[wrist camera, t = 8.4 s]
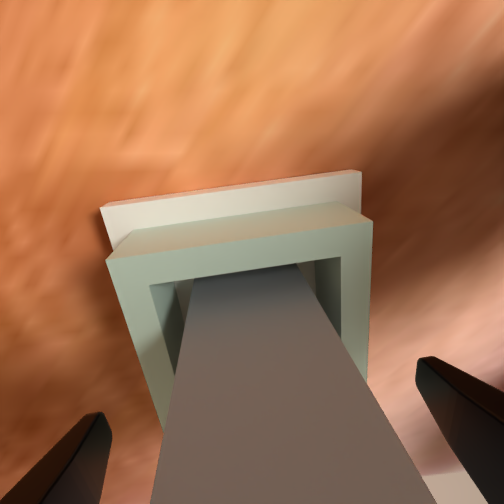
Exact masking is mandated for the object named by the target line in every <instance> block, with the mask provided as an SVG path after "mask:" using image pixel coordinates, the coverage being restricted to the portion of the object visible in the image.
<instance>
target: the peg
mask: <svg viewBox="0 0 504 504" xmlns="http://www.w3.org/2000/svg"><path fill="white" fill-rule="evenodd" d="M150 504H437V503H436V501H435V499H434V498H433V496H432V494H431V493H430V491H429V489H428V487H427V486H426V484H425V482H424V481H423V479H422V477H421V475H420V474H419V472H418V470H417V469H416V467H415V465H414V463H413V462H412V460H411V458H410V457H409V455H408V453H407V452H406V450H405V448H404V446H403V445H402V443H401V441H400V440H399V438H398V436H397V434H396V433H395V431H394V429H393V428H392V426H391V424H390V423H389V421H388V419H387V417H386V416H385V414H384V412H383V411H382V409H381V407H380V405H379V404H378V402H377V400H376V399H375V397H374V395H373V394H372V392H371V390H370V388H369V387H368V385H367V383H366V382H365V380H364V378H363V377H362V375H361V373H360V371H359V370H358V368H357V366H356V365H355V363H354V361H353V359H352V358H351V356H350V354H349V353H348V351H347V349H346V348H345V346H344V344H343V342H342V341H341V339H340V337H339V336H338V334H337V332H336V330H335V329H334V327H333V325H332V324H331V322H330V320H329V319H328V317H327V315H326V313H325V312H324V310H323V308H322V307H321V305H320V303H319V302H318V300H317V298H316V296H315V295H314V293H313V291H312V290H311V288H310V286H309V284H308V283H307V281H306V279H305V278H304V276H303V274H302V273H301V271H300V269H299V267H298V266H297V264H296V263H293V264H286V265H280V266H273V267H266V268H260V269H253V270H246V271H239V272H233V273H226V274H219V275H213V276H206V277H199V278H194V282H193V287H192V292H191V297H190V302H189V307H188V312H187V317H186V323H185V328H184V333H183V338H182V343H181V348H180V353H179V358H178V363H177V368H176V374H175V379H174V384H173V389H172V394H171V399H170V404H169V409H168V414H167V419H166V425H165V430H164V435H163V440H162V445H161V450H160V455H159V460H158V465H157V470H156V476H155V481H154V486H153V491H152V496H151V501H150Z"/></svg>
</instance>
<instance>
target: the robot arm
mask: <svg viewBox="0 0 504 504" xmlns="http://www.w3.org/2000/svg"><path fill="white" fill-rule="evenodd" d="M415 382H416V386H417V388H418V390H419V392H420V394H421V395H422V397H423V399H424V401H425V403H426V405H427V406H428V408H429V410H430V412H431V414H432V415H433V417H434V419H435V421H436V423H437V425H438V426H439V428H440V430H441V432H442V434H443V435H444V437H445V439H446V441H447V442H448V444H449V445H450V447H451V449H452V450H453V452H454V453H455V455H456V456H457V458H458V459H459V461H460V462H461V464H462V465H463V467H464V468H465V470H466V471H467V473H468V474H469V475H470V477H471V479H472V480H473V481H474V483H475V484H476V486H477V487H478V489H479V490H480V492H481V493H482V495H483V496H484V498H485V499H486V501H487V502H488V504H504V392H503V391H501V390H499V389H497V388H495V387H493V386H491V385H489V384H487V383H485V382H483V381H481V380H479V379H477V378H475V377H473V376H472V375H470V374H468V373H466V372H464V371H462V370H460V369H458V368H456V367H454V366H452V365H450V364H448V363H446V362H444V361H442V360H440V359H438V358H436V357H434V356H429V357H423V358H419V359H418V361H417V368H416V377H415ZM111 443H112V431H111V429H110V426H109V424H108V422H107V419H106V417H105V415H104V413H102V412H95V413H89V414H86V415H85V416H84V417H82V418H81V419H80V420H79V422H78V423H77V424H76V425H75V426H74V427H73V428H72V429H71V430H70V431H69V432H68V433H67V434H66V435H65V436H64V437H63V438H62V439H61V440H60V441H59V442H58V443H57V444H56V445H55V446H54V447H53V448H52V449H51V450H50V451H49V452H48V453H47V454H46V455H45V456H44V457H43V458H42V459H41V460H40V461H39V462H38V463H37V464H36V465H35V466H34V467H33V468H32V469H31V470H30V471H29V472H28V473H27V474H26V475H25V476H24V477H23V478H22V479H21V480H20V481H19V482H18V483H17V484H16V485H15V486H14V487H13V488H12V489H11V490H10V491H9V492H8V493H7V494H6V495H5V496H4V497H3V498H2V499H1V500H0V504H99V502H100V498H101V493H102V488H103V483H104V478H105V473H106V468H107V463H108V458H109V453H110V448H111Z"/></svg>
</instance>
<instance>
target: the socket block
mask: <svg viewBox="0 0 504 504" xmlns="http://www.w3.org/2000/svg"><path fill="white" fill-rule="evenodd" d="M361 192H362V172H360V171H356V170H352V169H349V170H342V171H335V172H327V173H320V174H313V175H305V176H298V177H291V178H283V179H276V180H269V181H261V182H254V183H247V184H239V185H232V186H225V187H217V188H210V189H203V190H195V191H188V192H181V193H173V194H166V195H159V196H151V197H144V198H137V199H129V200H122V201H114V202H109V203H107V204H105V205H104V206H102V207H100V210H101V214H102V217H103V220H104V223H105V226H106V229H107V232H108V235H109V238H110V242H111V245H112V248H113V252H112V253H111V254H110V256H109V257H108V258H107V259H106V260H105V261H106V264H107V267H108V270H109V273H110V276H111V278H112V281H113V284H114V287H115V290H116V293H117V296H118V299H119V302H120V305H121V308H122V311H123V314H124V317H125V320H126V323H127V326H128V329H129V332H130V335H131V338H132V341H133V344H134V347H135V350H136V353H137V356H138V359H139V362H140V365H141V368H142V370H143V373H144V376H145V379H146V382H147V385H148V388H149V391H150V394H151V397H152V400H153V403H154V406H155V409H156V412H157V415H158V418H159V421H160V424H161V427H162V430H163V433H164V430H165V425H166V419H167V414H168V409H169V404H170V399H171V394H172V389H173V384H174V379H175V374H176V368H177V363H178V358H179V353H180V348H181V343H182V338H183V333H184V328H185V323H186V317H187V312H188V307H189V302H190V297H191V292H192V287H193V282H194V278H199V277H206V276H213V275H219V274H226V273H233V272H239V271H246V270H253V269H260V268H266V267H273V266H280V265H286V264H293V263H296V264H297V266H298V267H299V269H300V271H301V273H302V274H303V276H304V278H305V279H306V281H307V283H308V284H309V286H310V288H311V290H312V291H313V293H314V295H315V296H316V298H317V300H318V302H319V303H320V305H321V307H322V308H323V310H324V312H325V313H326V315H327V317H328V319H329V320H330V322H331V324H332V325H333V327H334V329H335V330H336V332H337V334H338V336H339V337H340V339H341V341H342V342H343V344H344V346H345V348H346V349H347V351H348V353H349V354H350V356H351V358H352V359H353V361H354V363H355V365H356V366H357V368H358V370H359V371H360V373H361V375H362V377H363V378H364V380H365V382H366V383H367V366H368V341H369V315H370V289H371V263H372V237H373V221H372V220H370V219H368V218H366V217H365V216H363V215H361Z"/></svg>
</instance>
